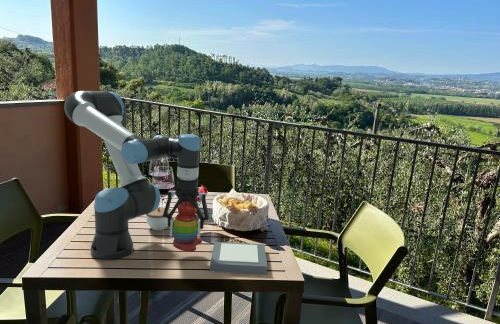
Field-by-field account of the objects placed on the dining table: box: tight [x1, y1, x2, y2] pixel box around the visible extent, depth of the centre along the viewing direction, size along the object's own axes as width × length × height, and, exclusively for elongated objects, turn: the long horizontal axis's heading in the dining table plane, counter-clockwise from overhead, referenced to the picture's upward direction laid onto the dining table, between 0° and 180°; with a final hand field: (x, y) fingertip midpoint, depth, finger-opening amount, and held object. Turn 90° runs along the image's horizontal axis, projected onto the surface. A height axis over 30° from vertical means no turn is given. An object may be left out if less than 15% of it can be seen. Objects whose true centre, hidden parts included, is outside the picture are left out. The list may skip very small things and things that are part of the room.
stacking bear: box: [172, 201, 203, 253], centre depth 136 cm, size 11×10×18 cm
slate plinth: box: [209, 241, 268, 275], centre depth 138 cm, size 20×18×3 cm
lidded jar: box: [145, 206, 172, 231], centre depth 163 cm, size 11×11×9 cm
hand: (185, 235), depth 137 cm, fingers closed on stacking bear, 9 cm apart
